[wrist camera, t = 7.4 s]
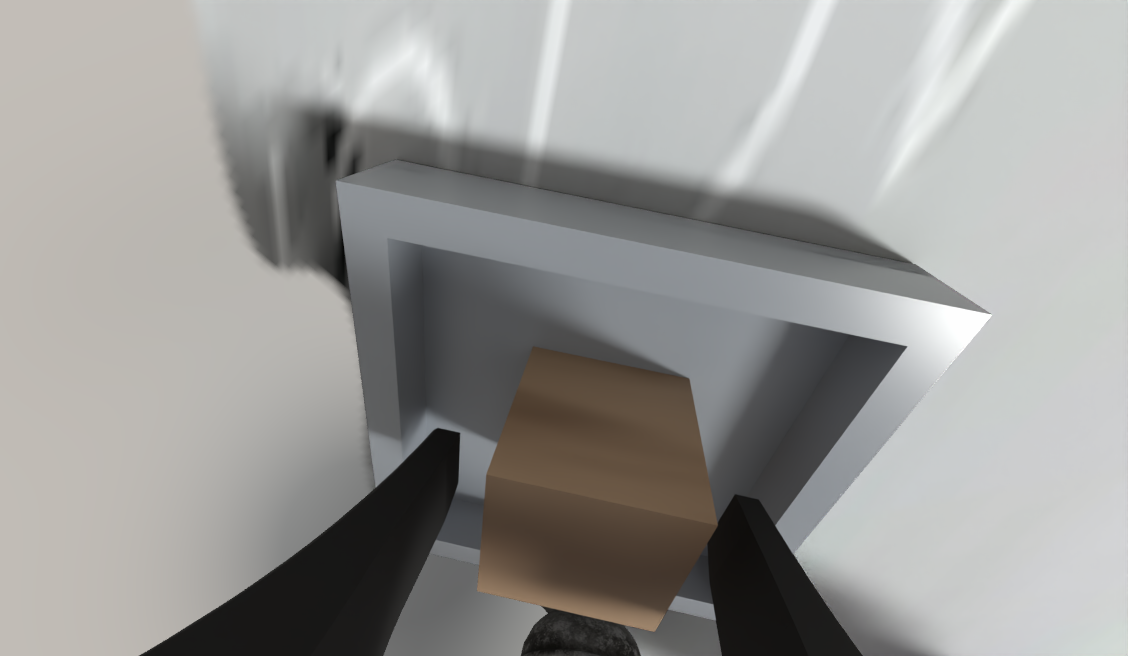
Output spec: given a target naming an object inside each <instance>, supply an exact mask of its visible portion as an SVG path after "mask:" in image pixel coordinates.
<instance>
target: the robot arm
mask: <svg viewBox="0 0 1128 656" xmlns="http://www.w3.org/2000/svg"><path fill="white" fill-rule="evenodd" d="M459 456H460V433H459V432H455V431H450V430H446V429H441V428H436V429H434V430H433V431H432V432H431V433H430V434H429V436H428V437H427V438H426V439H425V440H424V441H423V442H422V443H421V444H420V445H419V446H418V447H417V448H416V449H415V450H414V451H413V452H412V453H411V454H410V455H409V456H408V457H407V458H406V459H405V460H404V461H403V462H402V463H401V464H400V465H399V466H398V467H397V468H396V469H395V470H394V471H393V472H392V473H391V474H390V475H389V476H388V477H387V478H386V479H385V480H383V481H382V482H381V483H380V484H379V485H378V486H377V487H376V488H375V489H374V490H373V491H372V492H371V493H369V494H368V495H367V496H366V497H365V498H364V499H363V500H361V501H360V502H359V503H358V504H357V505H356V506H354V507H353V508H352V509H351V510H350V511H349V512H347V513H346V514H345V515H344V516H343V517H342V518H341V519H339V520H338V521H337V522H336V523H335V524H333V525H332V526H331V527H330V528H328V529H327V530H326V531H325V532H323V533H322V534H321V535H320V536H318V537H317V538H316V539H314V540H313V541H312V542H311V543H310V544H308V545H307V546H305V547H304V548H303V549H301V550H300V551H299V552H298V553H296V554H295V555H293V556H292V557H291V558H289V559H288V560H287V561H285V562H284V563H283V564H281V565H280V566H278V567H277V568H276V569H274V570H272V571H271V572H270V573H268V574H267V575H265V576H264V577H263V578H261V579H260V580H258V581H257V582H255V583H254V584H253V585H251V586H250V587H248V588H247V589H245V590H244V591H242V592H241V593H239V594H238V595H237V596H235V597H233V598H232V599H230V600H229V601H227V602H226V603H224V604H223V605H221V606H219V607H218V608H216V609H215V610H213V611H211V612H210V613H208V614H207V615H205V616H203V617H202V618H200V619H199V620H197V621H195V622H194V623H192V624H191V625H189V626H187V627H186V628H185V629H183V630H181V631H180V632H178V633H176V634H175V635H173V636H171V637H170V638H169V639H167V640H165V641H163V642H162V643H160V644H158V645H157V646H155V647H153V648H152V649H150V650H148V651H147V652H145V653H143V654H141V655H140V656H383V655H384V652H385V650H386V647H387V645H388V642H389V639H390V637H391V634H392V632H393V629H394V627H395V625H396V623H397V620H398V618H399V616H400V613H401V611H402V609H403V607H404V605H405V603H406V601H407V599H408V597H409V594H410V593H411V590H412V588H413V586H414V584H415V582H416V580H417V578H418V576H419V574H420V572H421V570H422V568H423V565H424V564H425V561H426V559H427V557H428V555H429V553H430V551H431V549H432V547H433V545H434V543H435V541H436V539H437V536H438V534H439V532H440V530H441V528H442V526H443V524H444V522H445V519H446V516H447V514H448V511H449V508H450V505H451V503H452V500H453V497H454V494H455V491H456V489H457V486H458V482H459ZM717 524H718V526H717V528H716V530H715V531H714V533H713V535H712V536H711V538H710V540H709V541H708V543H707V546H708V566H709V580H710V588H711V594H712V600H713V606H714V612H715V618H716V624H717V629H718V635H719V641H720V646H721V652H722V656H862V654H861V653H860V652H859V650H858V649H857V647H856V646H855V645H854V643H853V642H852V641H851V639H850V638H849V636H848V635H847V634H846V632H845V631H844V629H843V628H842V627H841V625H840V624H839V622H838V621H837V620H836V618H835V617H834V615H833V614H832V612H831V611H830V609H829V608H828V607H827V605H826V604H825V602H824V601H823V599H822V598H821V596H820V595H819V593H818V592H817V590H816V589H815V587H814V586H813V584H812V583H811V581H810V580H809V578H808V577H807V575H806V573H805V572H804V570H803V569H802V567H801V566H800V564H799V563H798V561H797V559H796V558H795V556H794V555H793V553H792V552H791V550H790V548H789V547H788V545H787V544H786V542H785V540H784V539H783V537H782V536H781V534H780V532H779V531H778V529H777V528H776V526H775V524H774V523H773V521H772V520H771V518H770V516H769V515H768V513H767V512H766V510H765V508H764V507H763V505H762V504H761V502H760V500H759V499H755V498H750V497H746V496H741V495H737V494H735V495H734V496H733V498H732V500H731V501H730V503H729V505H728V506H727V508H726V510H725V511H724V513H723V515H722V516H721V518H720V519H719V521H718V523H717Z"/></svg>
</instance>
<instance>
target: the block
mask: <svg viewBox="0 0 1128 656" xmlns="http://www.w3.org/2000/svg"><path fill="white" fill-rule="evenodd" d="M717 526H718V524H717V518H716V513H715V508H714V503H713V498H712V492H711V487H710V482H709V477H708V472H707V467H706V461H705V456H704V451H703V446H702V441H701V436H700V430H699V425H698V420H697V415H696V410H695V405H694V399H693V394H692V389H691V384H690V379H689V378H684V377H679V376H674V375H669V374H664V373H660V372H655V371H650V370H645V369H640V368H635V367H631V366H626V365H621V364H616V363H611V362H606V361H602V360H597V359H592V358H587V357H582V356H577V355H572V354H568V353H563V352H558V351H553V350H548V349H543V348H539V347H534V346H533V348H532V351H531V353H530V356H529V359H528V362H527V364H526V367H525V370H524V373H523V375H522V378H521V381H520V384H519V386H518V389H517V392H516V394H515V397H514V400H513V403H512V405H511V408H510V411H509V414H508V416H507V419H506V422H505V425H504V427H503V430H502V433H501V436H500V438H499V441H498V444H497V446H496V449H495V452H494V455H493V457H492V460H491V463H490V466H489V468H488V471H487V474H486V484H485V496H484V509H483V522H482V535H481V548H480V561H479V573H478V586H477V591H479V592H484V593H488V594H492V595H497V596H501V597H506V598H510V599H514V600H519V601H523V602H527V603H532V604H536V605H540V606H544V607H548V608H553V609H557V610H561V611H566V612H570V613H574V614H579V615H583V616H587V617H592V618H596V619H600V620H605V621H609V622H613V623H618V624H622V625H626V626H631V627H635V628H639V629H644V630H648V631H652V632H655V630H656V629H657V627H658V625H659V624H660V622H661V620H662V619H663V617H664V615H665V614H666V612H667V610H668V609H669V607H670V605H671V604H672V602H673V600H674V598H675V597H676V595H677V593H678V592H679V590H680V588H681V587H682V585H683V583H684V582H685V580H686V578H687V577H688V575H689V573H690V572H691V570H692V568H693V567H694V565H695V563H696V562H697V560H698V558H699V556H700V555H701V553H702V551H703V550H704V548H705V546H706V545H707V543H708V541H709V540H710V538H711V536H712V535H713V533H714V531H715V530H716V528H717Z"/></svg>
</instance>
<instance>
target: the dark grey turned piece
mask: <svg viewBox="0 0 1128 656" xmlns="http://www.w3.org/2000/svg"><path fill="white" fill-rule="evenodd" d="M542 607H543V608H544V609H545V610H546V612H547V613H548V614H547V615H545V616H544V617H543V618H541V619H540V620H539V621H538V622H537V623H536V624H535V625H534V626H533V628H532V630H531V631H530V634H529V635H528V637H527V639H526V640H525V642H524V645H523V649H522V654H521V656H641V655H640V652H639V649H638V646H637V643H636V642H635V640H634V638H633V636H632V635H631V634H630V632H629V631H628V630H627V629H626V628H625V626H624V625H622V624H618V623H613V622H609V621H605V620H600V619H596V618H592V617H587V616H583V615H579V614H574V613H570V612H566V611H561V610H557V609H553V608H548V607H544V606H542Z"/></svg>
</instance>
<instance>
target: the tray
mask: <svg viewBox="0 0 1128 656" xmlns="http://www.w3.org/2000/svg"><path fill="white" fill-rule="evenodd" d="M336 188H337V196H338V203H339V211H340V219H341V226H342V234H343V242H344V249H345V257H346V265H347V272H348V280H349V288H350V295H351V303H352V311H353V318H354V326H355V334H356V342H357V349H358V357H359V365H360V372H361V380H362V388H363V395H364V403H365V411H366V418H367V426H368V434H369V441H370V449H371V457H372V464H373V472H374V480H375V487H377V486H378V485H379V484H380V483H381V482H382V481H383V480H385V479H386V478H387V477H388V476H389V475H390V474H391V473H392V472H393V471H394V470H395V469H396V468H397V467H398V466H399V465H400V464H401V463H402V462H403V461H404V460H405V459H406V458H407V457H408V456H409V455H410V454H411V453H412V452H413V451H414V450H415V449H416V448H417V447H418V446H419V445H420V444H421V443H422V442H423V441H424V440H425V439H426V438H427V437H428V436H429V434H430V433H431V432H432V431H433V430H434V429H436V428H441V429H446V430H450V431H455V432H459V433H460V456H459V482H458V486H457V489H456V491H455V494H454V497H453V500H452V503H451V505H450V508H449V511H448V514H447V516H446V519H445V522H444V524H443V526H442V528H441V530H440V532H439V534H438V536H437V539H436V541H435V543H434V545H433V547H432V549H431V551H430V553H429V554H433V555H437V556H441V557H446V558H450V559H454V560H458V561H463V562H467V563H471V564H475V565H479V561H480V548H481V535H482V522H483V509H484V496H485V484H486V474H487V471H488V468H489V466H490V463H491V460H492V457H493V455H494V452H495V449H496V446H497V444H498V441H499V438H500V436H501V433H502V430H503V427H504V425H505V422H506V419H507V416H508V414H509V411H510V408H511V405H512V403H513V400H514V397H515V394H516V392H517V389H518V386H519V384H520V381H521V378H522V375H523V373H524V370H525V367H526V364H527V362H528V359H529V356H530V353H531V351H532V348H533V346H534V347H539V348H543V349H548V350H553V351H558V352H563V353H568V354H572V355H577V356H582V357H587V358H592V359H597V360H602V361H606V362H611V363H616V364H621V365H626V366H631V367H635V368H640V369H645V370H650V371H655V372H660V373H664V374H669V375H674V376H679V377H684V378H689V379H690V384H691V389H692V394H693V399H694V405H695V410H696V415H697V420H698V425H699V430H700V436H701V441H702V446H703V451H704V456H705V461H706V467H707V472H708V477H709V482H710V487H711V492H712V498H713V503H714V508H715V513H716V518H717V523H718V521H719V519H720V518H721V516H722V515H723V513H724V511H725V510H726V508H727V506H728V505H729V503H730V501H731V500H732V498H733V496H734V495H735V494H737V495H741V496H746V497H750V498H755V499H759V500H760V502H761V504H762V505H763V507H764V508H765V510H766V512H767V513H768V515H769V516H770V518H771V520H772V521H773V523H774V524H775V526H776V528H777V529H778V531H779V532H780V534H781V536H782V537H783V539H784V540H785V542H786V544H787V545H788V547H789V548H790V550H791V552H792V553H793V554H794V552H795V551H796V550H797V549H798V548H799V546H800V545H801V544H802V543H803V542H804V540H805V539H806V538H807V537H808V536H809V534H810V533H811V532H812V531H813V530H814V528H815V527H816V526H817V525H818V524H819V522H820V521H821V520H822V519H823V518H824V516H825V515H826V514H827V513H828V512H829V510H830V509H831V508H832V507H833V506H834V504H835V503H836V502H837V501H838V500H839V498H840V497H841V496H842V495H843V494H844V492H845V491H846V490H847V489H848V488H849V486H850V485H851V484H852V483H853V482H854V480H855V479H856V478H857V477H858V476H859V474H860V473H861V472H862V471H863V470H864V468H865V467H866V466H867V465H868V464H869V462H870V461H871V460H872V459H873V458H874V456H875V455H876V454H877V453H878V451H879V450H880V449H881V448H882V447H883V445H884V444H885V443H886V442H887V441H888V439H889V438H890V437H891V436H892V435H893V433H894V432H895V431H896V430H897V429H898V427H899V426H900V425H901V424H902V423H903V421H904V420H905V419H906V418H907V417H908V415H909V414H910V413H911V412H912V411H913V409H914V408H915V407H916V406H917V405H918V403H919V402H920V401H921V400H922V399H923V397H924V396H925V395H926V394H927V393H928V391H929V390H930V389H931V388H932V387H933V385H934V384H935V383H936V382H937V381H938V379H939V378H940V377H941V376H942V375H943V373H944V372H945V371H946V370H947V369H948V367H949V366H950V365H951V364H952V363H953V361H954V360H955V359H956V358H957V357H958V355H959V354H960V353H961V352H962V351H963V349H964V348H965V347H966V346H967V345H968V343H969V342H970V341H971V340H972V338H973V337H974V336H975V335H976V334H977V332H978V331H979V330H980V329H981V328H982V326H983V325H984V324H985V323H986V322H987V320H988V319H989V318H990V317H991V316H992V314H990V313H989V312H987V311H986V310H984V309H983V308H981V307H980V306H978V305H977V304H975V303H974V302H972V301H970V300H969V299H967V298H966V297H964V296H963V295H961V294H960V293H958V292H957V291H955V290H954V289H952V288H951V287H949V286H948V285H946V284H945V283H943V282H942V281H940V280H938V279H937V278H935V277H934V276H932V275H931V274H929V273H928V272H926V271H925V270H923V269H922V268H920V267H919V266H917V265H916V264H911V263H906V262H901V261H896V260H891V259H886V258H881V257H876V256H871V255H866V254H861V253H856V252H851V251H846V250H841V249H836V248H832V247H827V246H822V245H817V244H812V243H807V242H802V241H797V240H792V239H787V238H782V237H777V236H772V235H767V234H762V233H757V232H752V231H747V230H742V229H737V228H732V227H727V226H722V225H717V224H713V223H708V222H703V221H698V220H693V219H688V218H683V217H678V216H673V215H668V214H663V213H658V212H653V211H648V210H643V209H638V208H633V207H628V206H623V205H618V204H613V203H608V202H603V201H598V200H594V199H589V198H584V197H579V196H574V195H569V194H564V193H559V192H554V191H549V190H544V189H539V188H534V187H529V186H524V185H519V184H514V183H509V182H504V181H499V180H494V179H489V178H484V177H479V176H474V175H470V174H465V173H460V172H455V171H450V170H445V169H440V168H435V167H430V166H425V165H420V164H415V163H410V162H405V161H400V160H393V161H390V162H387V163H385V164H382V165H379V166H376V167H373V168H370V169H367V170H364V171H362V172H359V173H356V174H353V175H350V176H347V177H344V178H341V179H338V180H336ZM668 610H672V611H676V612H681V613H685V614H689V615H694V616H698V617H702V618H706V619H711V620H715V621H716V618H715V612H714V606H713V600H712V594H711V588H710V580H709V566H708V546H707V545H706V546H705V548H704V550H703V551H702V553H701V555H700V556H699V558H698V560H697V562H696V563H695V565H694V567H693V568H692V570H691V572H690V573H689V575H688V577H687V578H686V580H685V582H684V583H683V585H682V587H681V588H680V590H679V592H678V593H677V595H676V597H675V598H674V600H673V602H672V604H671V605H670V607H669V609H668Z"/></svg>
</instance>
